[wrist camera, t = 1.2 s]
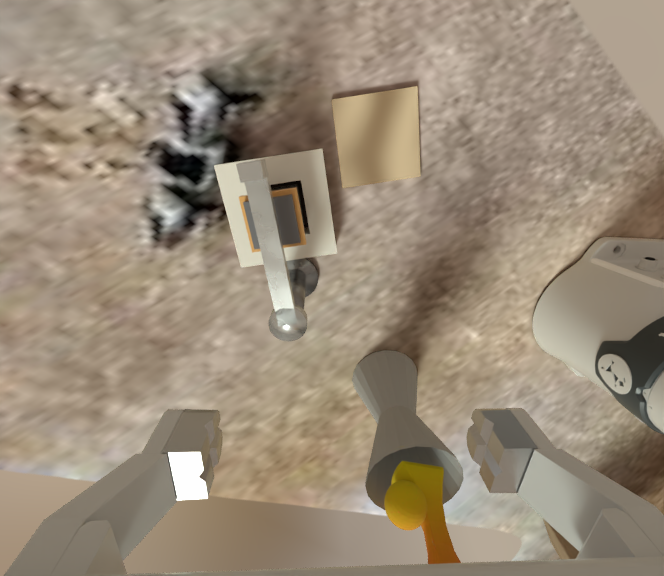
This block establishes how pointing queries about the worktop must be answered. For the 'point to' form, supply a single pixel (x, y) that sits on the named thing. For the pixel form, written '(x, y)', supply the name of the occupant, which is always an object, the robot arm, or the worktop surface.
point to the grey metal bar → (272, 252)
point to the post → (302, 279)
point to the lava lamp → (407, 453)
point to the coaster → (377, 136)
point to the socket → (316, 200)
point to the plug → (279, 217)
